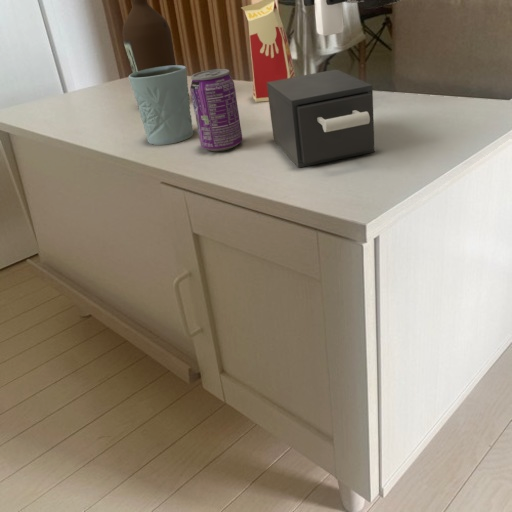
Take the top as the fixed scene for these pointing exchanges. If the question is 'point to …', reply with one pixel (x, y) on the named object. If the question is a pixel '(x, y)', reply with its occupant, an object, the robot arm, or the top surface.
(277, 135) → the cabinet
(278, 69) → the milk carton
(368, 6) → the robot arm
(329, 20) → the pepper shaker
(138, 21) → the olive oil
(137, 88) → the embossed ceramic cup
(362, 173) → the top surface
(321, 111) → the drawer
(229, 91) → the beverage can
